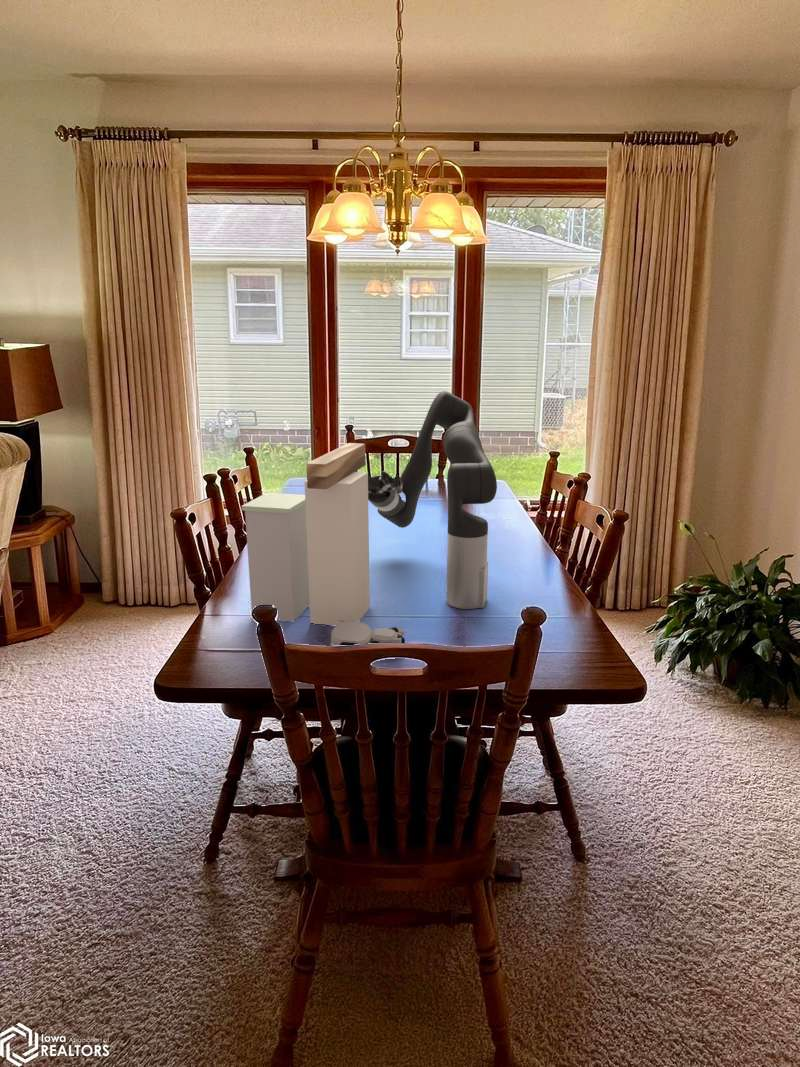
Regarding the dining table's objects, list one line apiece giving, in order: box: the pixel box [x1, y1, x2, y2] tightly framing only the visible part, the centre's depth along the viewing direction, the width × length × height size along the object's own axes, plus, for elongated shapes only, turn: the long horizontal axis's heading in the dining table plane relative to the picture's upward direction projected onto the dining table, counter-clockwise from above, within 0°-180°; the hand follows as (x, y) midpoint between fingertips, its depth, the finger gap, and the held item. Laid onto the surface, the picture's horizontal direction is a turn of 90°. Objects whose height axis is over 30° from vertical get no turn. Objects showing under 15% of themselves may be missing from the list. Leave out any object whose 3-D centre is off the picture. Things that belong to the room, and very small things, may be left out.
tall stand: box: [304, 471, 371, 626], centre depth 157 cm, size 10×12×32 cm
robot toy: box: [329, 619, 406, 646], centre depth 144 cm, size 12×4×15 cm
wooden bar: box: [305, 442, 366, 489], centre depth 153 cm, size 4×26×5 cm, turn 165°
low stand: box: [241, 492, 310, 622], centre depth 161 cm, size 11×13×26 cm
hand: (365, 474), depth 172 cm, fingers open, 8 cm apart
